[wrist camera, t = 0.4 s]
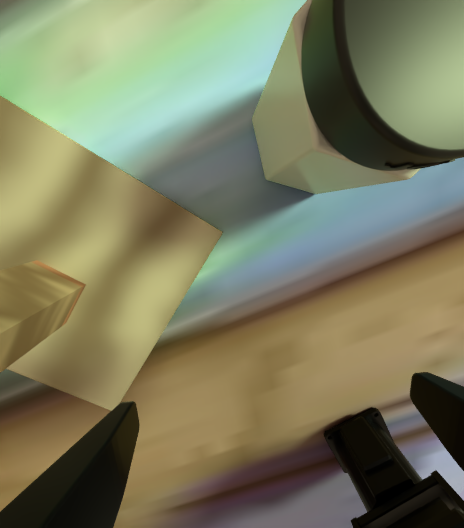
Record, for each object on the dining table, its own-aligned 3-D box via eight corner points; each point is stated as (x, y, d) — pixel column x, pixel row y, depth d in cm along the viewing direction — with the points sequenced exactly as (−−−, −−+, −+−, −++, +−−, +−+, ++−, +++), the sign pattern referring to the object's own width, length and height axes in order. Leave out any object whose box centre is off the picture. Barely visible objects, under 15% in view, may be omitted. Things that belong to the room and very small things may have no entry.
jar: (298, 215, 19) (429, 224, 7) (229, 140, 17) (260, -4, 6) (379, 134, 18) (679, -4, 6) (315, 45, 16) (568, -370, 5)
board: (222, 231, 19) (222, 232, 18) (116, 406, 22) (114, 411, 21) (-95, 37, 14) (-109, 29, 14) (-171, 290, 18) (-184, 292, 17)
